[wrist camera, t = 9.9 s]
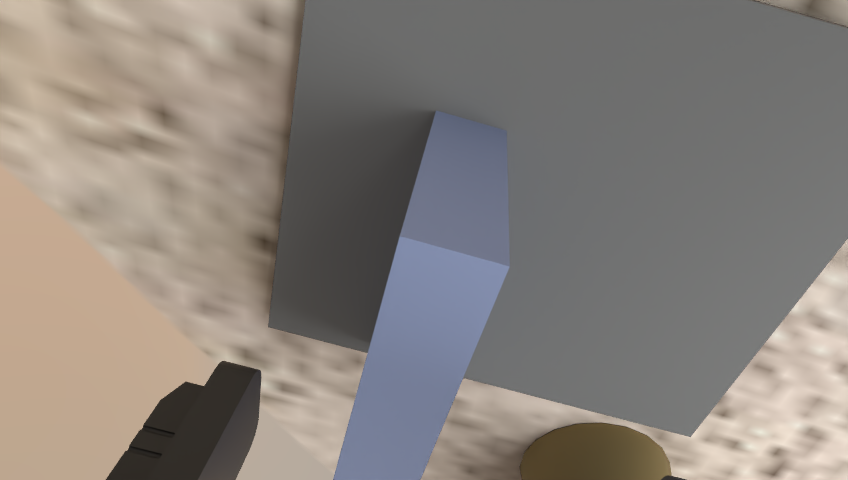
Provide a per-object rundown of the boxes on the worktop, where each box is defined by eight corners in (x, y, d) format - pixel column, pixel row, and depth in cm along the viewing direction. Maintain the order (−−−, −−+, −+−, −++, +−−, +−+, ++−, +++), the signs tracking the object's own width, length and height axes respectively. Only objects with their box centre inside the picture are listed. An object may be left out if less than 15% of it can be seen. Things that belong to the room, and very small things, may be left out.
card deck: (506, 130, 15) (509, 266, 10) (425, 358, 20) (397, 534, 15) (436, 110, 15) (399, 236, 10) (372, 344, 20) (323, 515, 15)
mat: (965, 60, 14) (983, 67, 13) (685, 423, 21) (690, 436, 21) (326, -122, 13) (319, -123, 13) (273, 316, 21) (268, 327, 20)
